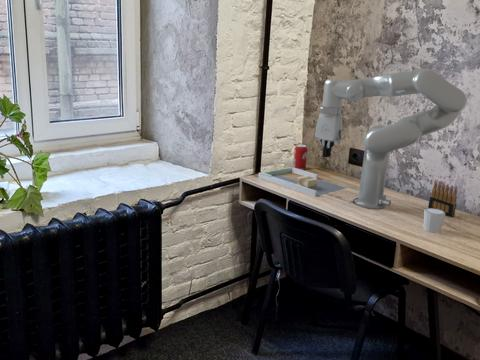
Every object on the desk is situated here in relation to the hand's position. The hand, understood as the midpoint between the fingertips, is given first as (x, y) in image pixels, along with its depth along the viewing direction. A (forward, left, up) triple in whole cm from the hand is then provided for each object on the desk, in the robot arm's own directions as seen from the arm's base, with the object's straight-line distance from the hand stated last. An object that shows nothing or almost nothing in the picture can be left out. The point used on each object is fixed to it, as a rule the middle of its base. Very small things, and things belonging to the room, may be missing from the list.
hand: (326, 156), depth 198 cm
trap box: (+15, -5, -17) cm, 23 cm away
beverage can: (+35, -27, -17) cm, 47 cm away
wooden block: (+9, -1, -15) cm, 18 cm away
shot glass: (-46, -3, -17) cm, 49 cm away
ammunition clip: (-39, -25, -17) cm, 49 cm away
